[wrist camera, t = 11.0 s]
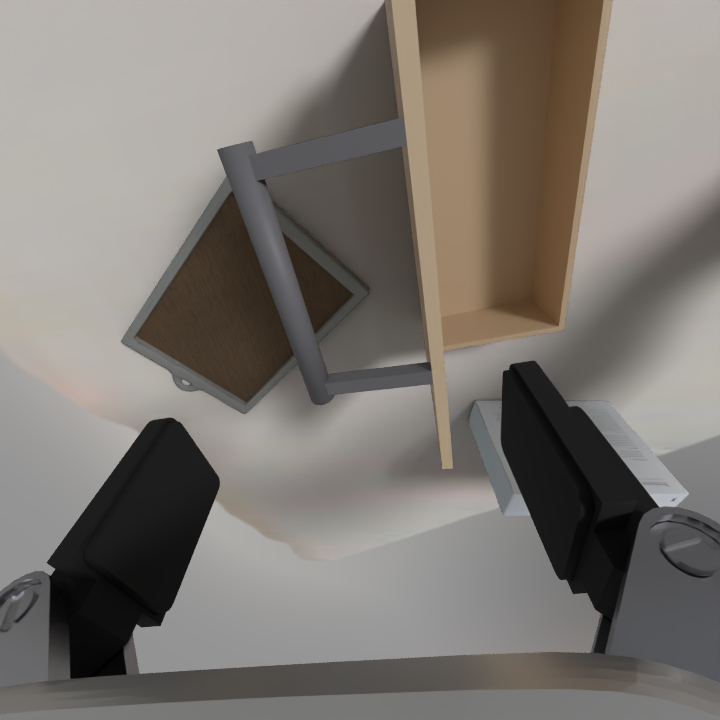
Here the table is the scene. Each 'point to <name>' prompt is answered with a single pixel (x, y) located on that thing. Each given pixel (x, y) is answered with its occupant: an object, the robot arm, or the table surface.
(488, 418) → the skincare box
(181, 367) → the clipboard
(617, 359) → the table surface
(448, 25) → the mailer box
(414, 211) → the lid
